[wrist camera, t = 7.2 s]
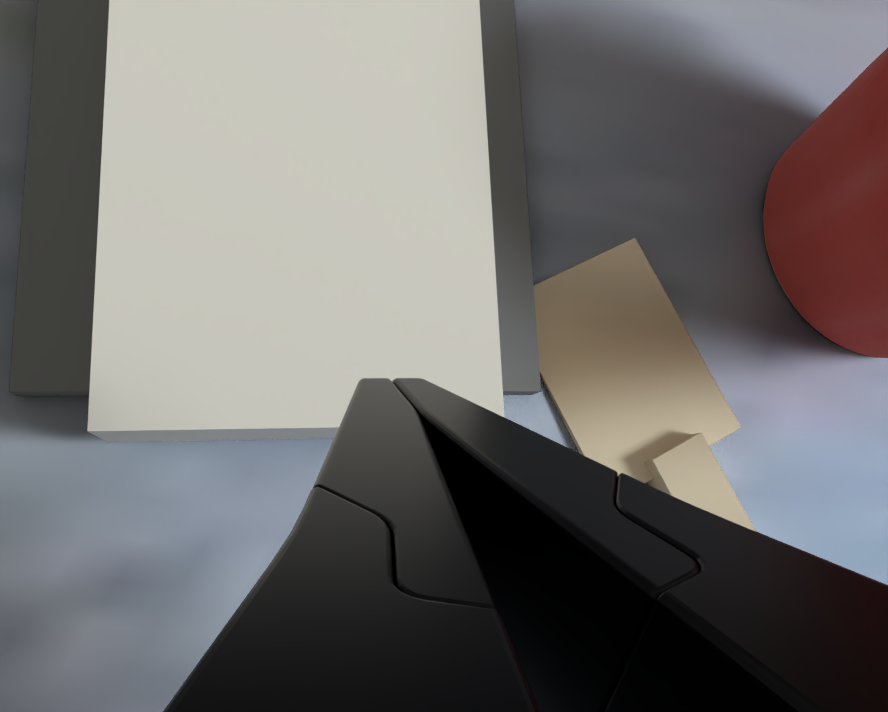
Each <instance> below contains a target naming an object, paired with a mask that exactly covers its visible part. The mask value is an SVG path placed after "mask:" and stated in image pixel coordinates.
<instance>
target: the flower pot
mask: <svg viewBox="0 0 888 712" xmlns="http://www.w3.org/2000/svg"><path fill="white" fill-rule="evenodd" d="M763 229H764V237H765V244H766V248H767V252H768V256H769V259H770V262H771V265H772V267H773V270H774V273H775V275H776V277H777V279H778V281H779V283H780V285H781V287H782V289H783V291H784V292H785V294H786V295H787V297H788V299H789V300H790V302H791V303H792V304H793V306H794V307H795V308H796V310H797V311H798V312H799V313H800V314H801V315H802V317H803V318H804V319H805V320H806V321H807V322H808V323H809V324H810V325H812V326H813V327H814V328H815V329H816V330H817V331H818V332H820V333H821V334H822V335H824V336H825V337H827V338H828V339H829V340H831V341H833V342H834V343H836V344H838V345H840V346H842V347H844V348H846V349H849V350H851V351H853V352H856V353H859V354H863V355H868V356H872V357H880V358H888V48H887V49H886V50H885V51H884V52H883V53H882V54H881V55H880V56H879V57H878V58H877V59H876V60H874V61H873V62H872V63H871V64H870V65H869V66H868V67H867V68H866V69H865V70H864V71H863V72H862V73H861V74H860V75H859V76H858V77H857V78H856V79H855V80H854V81H853V82H852V83H851V85H850V86H849V87H848V88H847V89H846V90H845V91H844V92H843V93H841V94H840V95H839V96H838V97H837V98H836V99H835V100H834V101H833V102H832V103H831V104H830V105H829V106H828V108H827V109H826V110H825V111H824V112H823V113H822V114H821V115H820V116H819V117H818V118H817V119H816V120H815V121H814V122H813V123H812V124H811V125H810V126H809V127H808V128H807V129H806V130H805V131H804V132H803V133H802V134H801V135H800V136H799V137H798V138H797V139H796V140H795V141H794V142H793V143H792V144H791V145H790V146H789V147H788V148H787V149H786V151H785V152H784V153H783V154H782V156H781V157H780V158H779V160H778V162H777V163H776V165H775V167H774V169H773V171H772V173H771V176H770V179H769V182H768V186H767V191H766V198H765V204H764V210H763Z"/></svg>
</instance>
